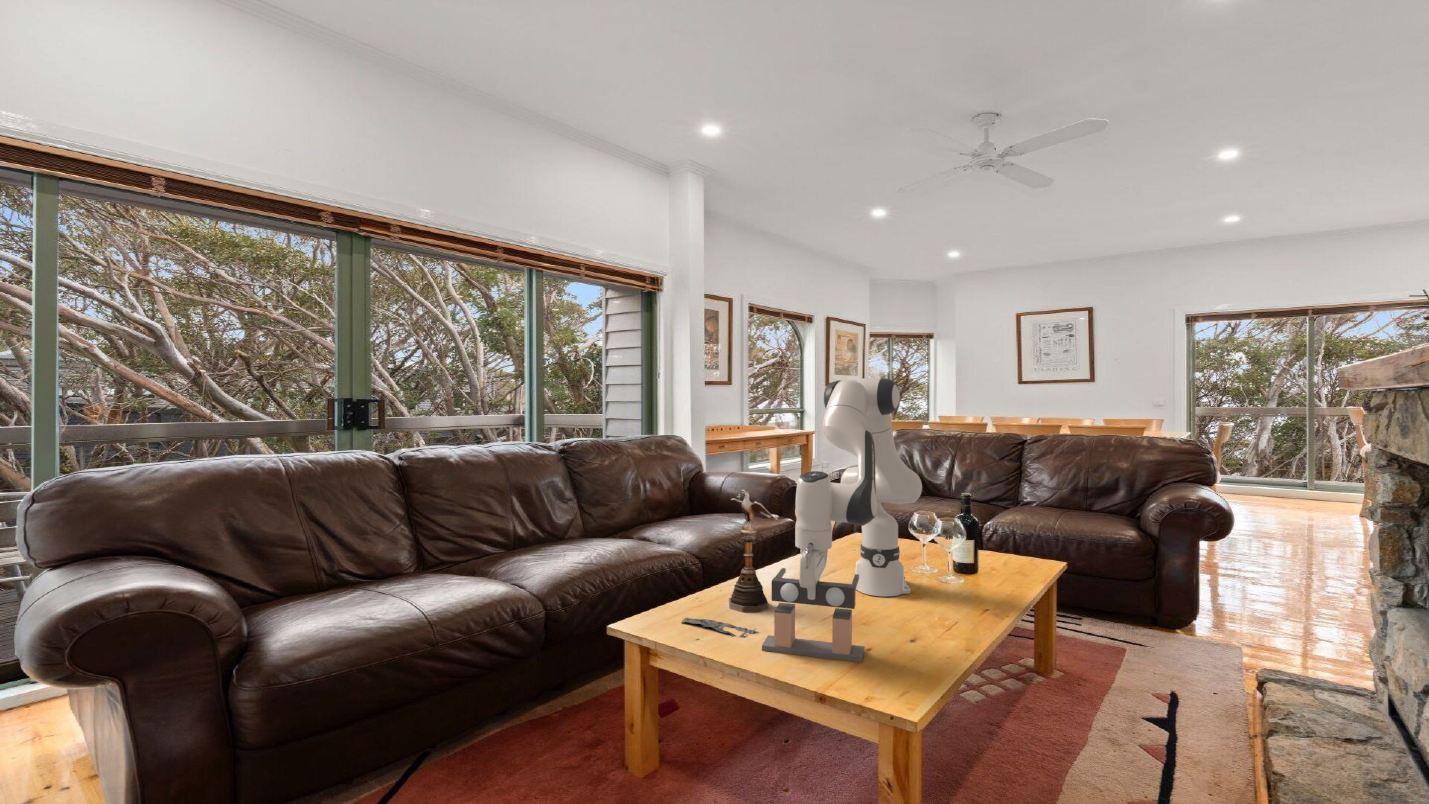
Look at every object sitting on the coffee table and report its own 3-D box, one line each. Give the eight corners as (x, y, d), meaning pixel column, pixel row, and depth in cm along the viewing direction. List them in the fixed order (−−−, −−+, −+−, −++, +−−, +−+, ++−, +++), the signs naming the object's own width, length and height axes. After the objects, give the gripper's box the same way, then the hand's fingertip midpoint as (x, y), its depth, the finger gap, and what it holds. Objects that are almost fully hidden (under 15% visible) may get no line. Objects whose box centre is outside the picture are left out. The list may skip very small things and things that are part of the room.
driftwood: (677, 624, 179) (677, 616, 179) (693, 617, 184) (693, 609, 184) (742, 642, 167) (742, 634, 167) (757, 634, 172) (757, 626, 172)
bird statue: (751, 592, 206) (751, 480, 205) (785, 601, 197) (785, 485, 196) (716, 605, 193) (716, 486, 192) (750, 615, 185) (751, 491, 184)
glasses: (781, 585, 173) (781, 566, 173) (858, 592, 167) (859, 573, 167) (771, 601, 160) (771, 581, 160) (854, 609, 154) (854, 588, 154)
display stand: (768, 639, 167) (768, 600, 166) (864, 651, 159) (864, 610, 159) (761, 650, 160) (761, 609, 160) (862, 662, 153) (862, 620, 153)
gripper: (820, 550, 148) (820, 611, 148) (831, 531, 168) (831, 585, 168) (792, 548, 150) (792, 608, 150) (807, 530, 170) (806, 583, 170)
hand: (813, 595), depth 159 cm, fingers closed on glasses, 3 cm apart
